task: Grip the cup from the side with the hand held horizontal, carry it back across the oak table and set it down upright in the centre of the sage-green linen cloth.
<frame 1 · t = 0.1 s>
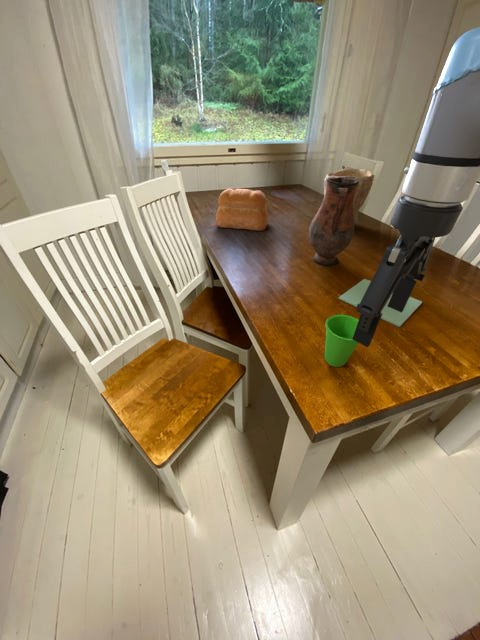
hand: (379, 324, 49), 20 cm above the table, tool pointing down, fingers open, 13 cm apart
bread: (242, 225, 143), on the table
cup: (334, 360, 69), on the table
tan flared vase: (338, 223, 146), on the table
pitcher: (324, 262, 111), on the table
cloth: (379, 300, 89), on the table
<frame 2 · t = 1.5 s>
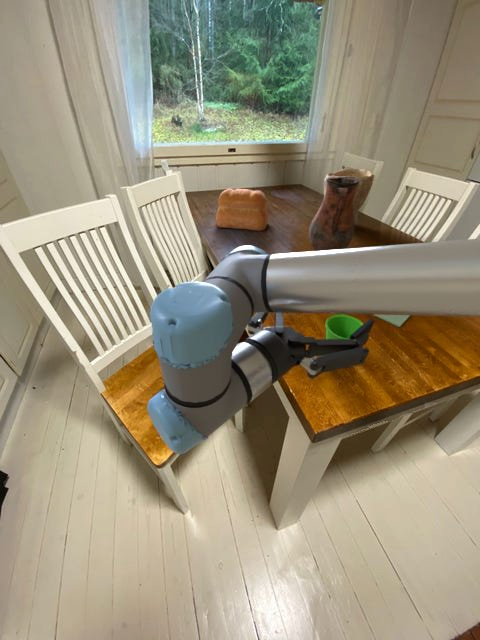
hand: (336, 307, 51), 21 cm above the table, tool horizontal, fingers open, 13 cm apart
nothing on the table moved.
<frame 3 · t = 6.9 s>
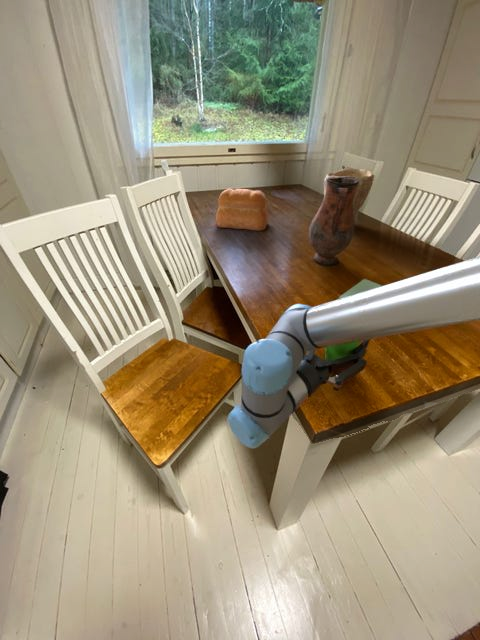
hand: (350, 333, 67), 6 cm above the table, tool horizontal, fingers closed on cup, 8 cm apart
cup: (335, 360, 69), on the table, touching gripper
everything else where it was.
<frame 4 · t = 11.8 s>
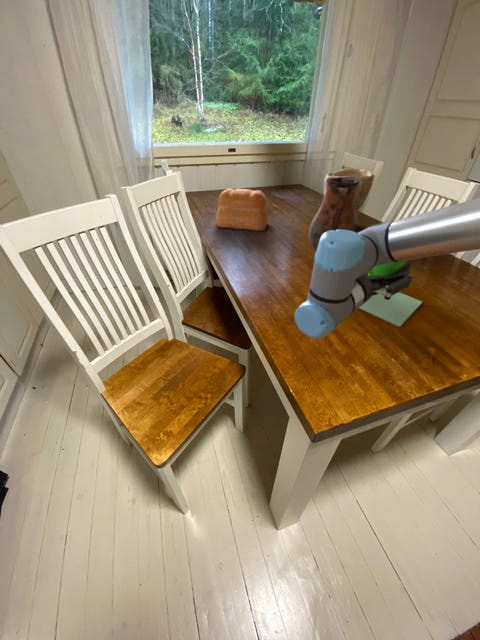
hand: (391, 261, 72), 18 cm above the table, tool horizontal, fingers closed on cup, 8 cm apart
cup: (376, 287, 73), point 12 cm above the table, touching gripper
everything else where it was.
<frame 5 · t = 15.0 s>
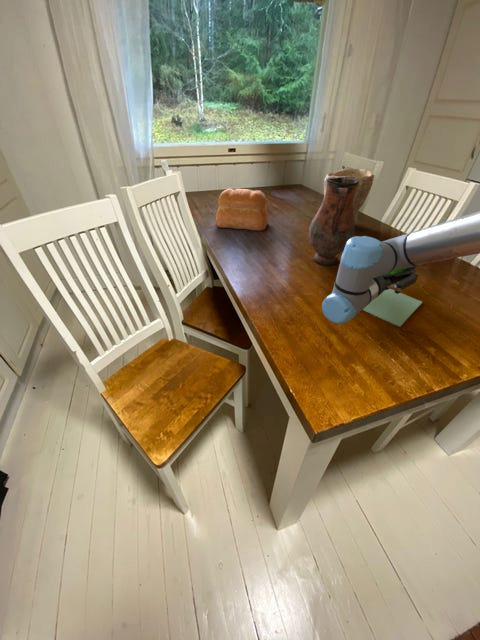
hand: (400, 261, 84), 13 cm above the table, tool horizontal, fingers closed on cup, 8 cm apart
cup: (386, 284, 85), point 6 cm above the table, touching gripper
everything else where it was.
when the fingers open (6 cm above the table, at t = 17.2 s): cup stays where it is, resting on cloth.
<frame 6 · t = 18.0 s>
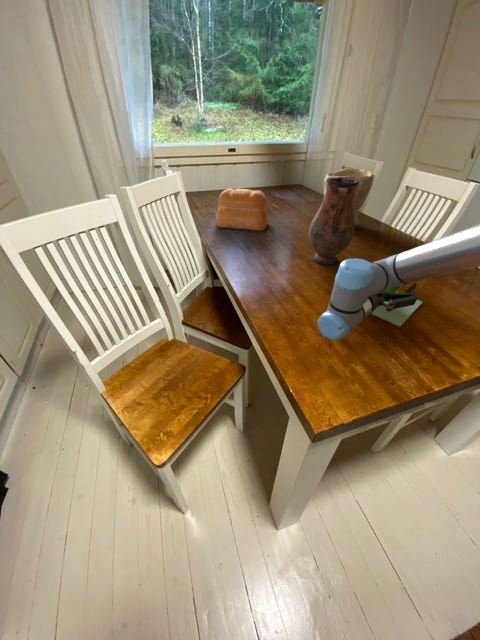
hand: (391, 278, 86), 7 cm above the table, tool horizontal, fingers open, 13 cm apart
cup: (380, 300, 89), resting on cloth
everything else where it was.
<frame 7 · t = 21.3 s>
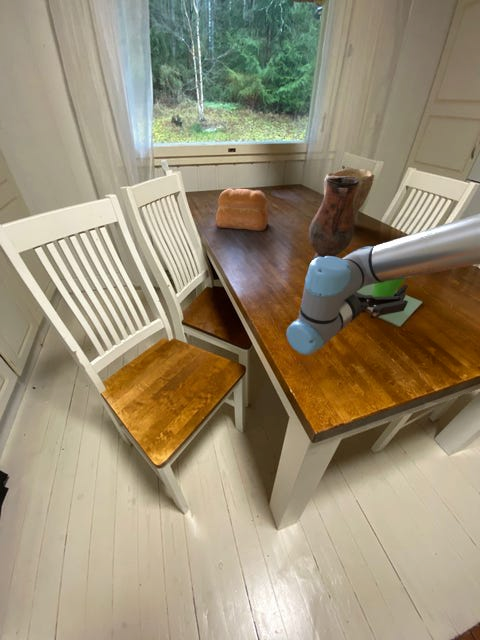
hand: (379, 279, 75), 13 cm above the table, tool horizontal, fingers open, 13 cm apart
nothing on the table moved.
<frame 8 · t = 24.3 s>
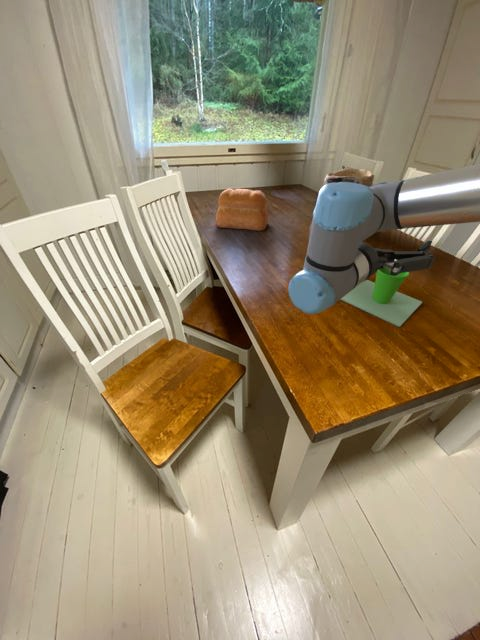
hand: (396, 237, 64), 26 cm above the table, tool horizontal, fingers open, 13 cm apart
nothing on the table moved.
at the end: cup inside the target area on the cloth (0.1 cm from its centre), point 0.3 cm above the cloth's base; cup tilted 0°; the gripper is holding nothing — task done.
